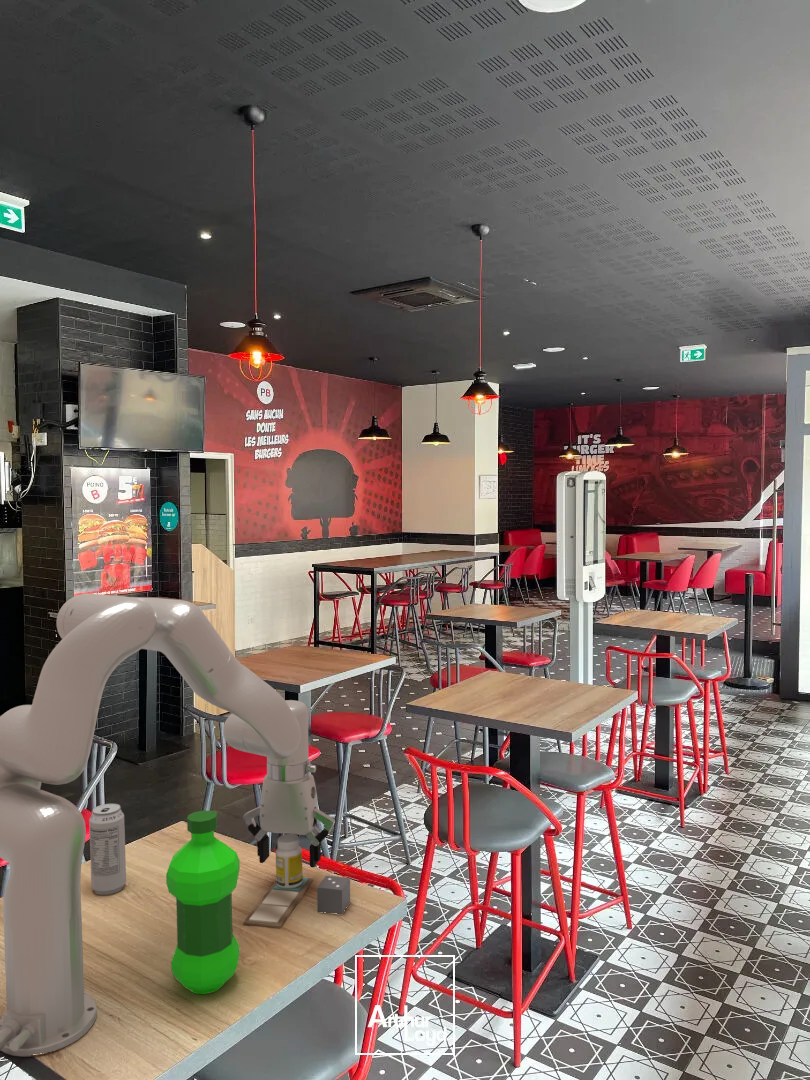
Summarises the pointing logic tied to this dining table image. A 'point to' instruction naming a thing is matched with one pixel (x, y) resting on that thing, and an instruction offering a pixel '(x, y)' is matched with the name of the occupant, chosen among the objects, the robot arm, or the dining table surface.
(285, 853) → the supplement bottle
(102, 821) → the energy drink can
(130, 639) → the robot arm
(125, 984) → the dining table surface
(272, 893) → the board
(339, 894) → the die
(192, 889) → the plastic bottle
